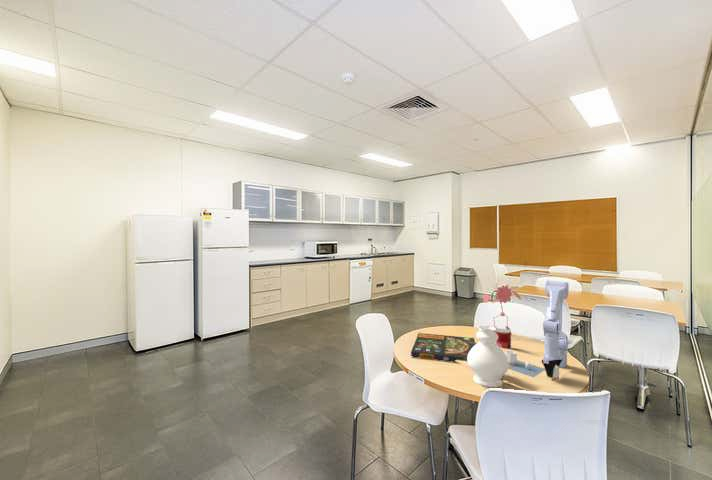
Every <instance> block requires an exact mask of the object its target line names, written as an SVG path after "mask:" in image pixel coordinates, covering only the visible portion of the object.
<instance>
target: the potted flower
mask: <svg viewBox="0 0 712 480" xmlns="http://www.w3.org/2000/svg"><path fill="white" fill-rule="evenodd" d="M496 290H497V291H496V293H495V301H493V300H492V299H491V298H490V296H489V295H488V294H487V293H485V294H484V295H483V296H482V300H483V302H484V303H485V304H487V303H488V302H489V301H490V302H491V303H492V304H494V303H496V302H499V304H500V306H501V307H500V308H501V312H500V314H499V315H497V316H495V317H493V319H495V318H498V317H500V316H501V317H506V325H505V329H508V330H510V331H511V332H512V330H511V329H510V327H509V325H508V324H509V323H508V321H509V320H508V316H507V315H506V314H505V313H504V311H503V305H502V303H504V304H506V303H507V302H508V301H511V300H512V298H511V296H512V295H514V296H515V297H516V298H518V299H519V300H522V297H521V295H520V294H518V293H517V292H516V291H515V290H512V288H509V285H508V284H506V285H501V287H500V286H498V287H497V288H496ZM493 327H495V328H496V329H498V328H497V326H496V323H495V320H493ZM494 332H495V333H496V331H494ZM511 336H512V333H511ZM518 340H520V338H518Z"/></svg>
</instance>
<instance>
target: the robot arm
mask: <svg viewBox="0 0 712 480" xmlns="http://www.w3.org/2000/svg"><path fill="white" fill-rule="evenodd" d="M569 287H570V286H569V282H567V281H556V280H555V281H553V280H552V281H551V280H546V281H545V285H544V291H545V294H546V296H547V297H548V298H549V306H548V307H547V308H546V312H545V320H544V321H543V324H542V329H543V336H544V340H543V342H544V353H543V355H544V356H543V358H542V360H541V363H542V366H543V368H544V369H545V370H546V374H547V375H546V374H545V375H546V376H547V377H550V378H552V377H553V371H554V367H555V365H557V366H558V367H559V369H560V368H565V367H566V366H569V365H568V354H567V352H568V351H569V337H568V335H567V334H566V333H565V332H563V330H562V327H563V325H562V324H563V304H564V300H567V299H568V298H569ZM545 370H544V371H545Z"/></svg>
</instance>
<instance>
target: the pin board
mask: <svg viewBox="0 0 712 480" xmlns="http://www.w3.org/2000/svg"><path fill="white" fill-rule="evenodd" d="M508 370H512V371H514V372H517V373H519V374H522V375H526V376H528V377H532V378H534V377H536V376H538V375H539V374H541V373H542V372H543V371H545V367H541V366H537V365H534V364H532V363H530V362H527V361H526V362H524V361H521V360H518V359H517V365H515V366H512V365H509V368H508Z"/></svg>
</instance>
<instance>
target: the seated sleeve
mask: <svg viewBox="0 0 712 480" xmlns="http://www.w3.org/2000/svg"><path fill="white" fill-rule="evenodd" d="M504 354H505V355H506V357H507V359H508V362H509V365H512V366H515V365H517V360H518V359H517V352H516V351H514V350H511V349H506V350H504Z"/></svg>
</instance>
